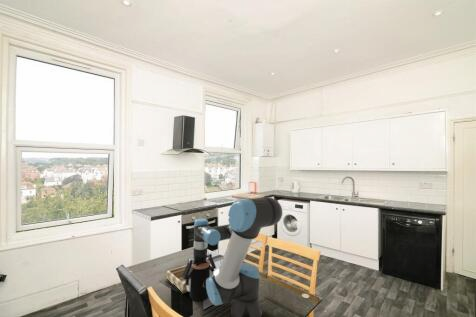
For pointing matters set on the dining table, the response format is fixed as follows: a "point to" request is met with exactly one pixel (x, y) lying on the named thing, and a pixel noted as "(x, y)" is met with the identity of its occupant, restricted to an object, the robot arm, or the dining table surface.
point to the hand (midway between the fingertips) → (199, 286)
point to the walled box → (177, 278)
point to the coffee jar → (199, 281)
